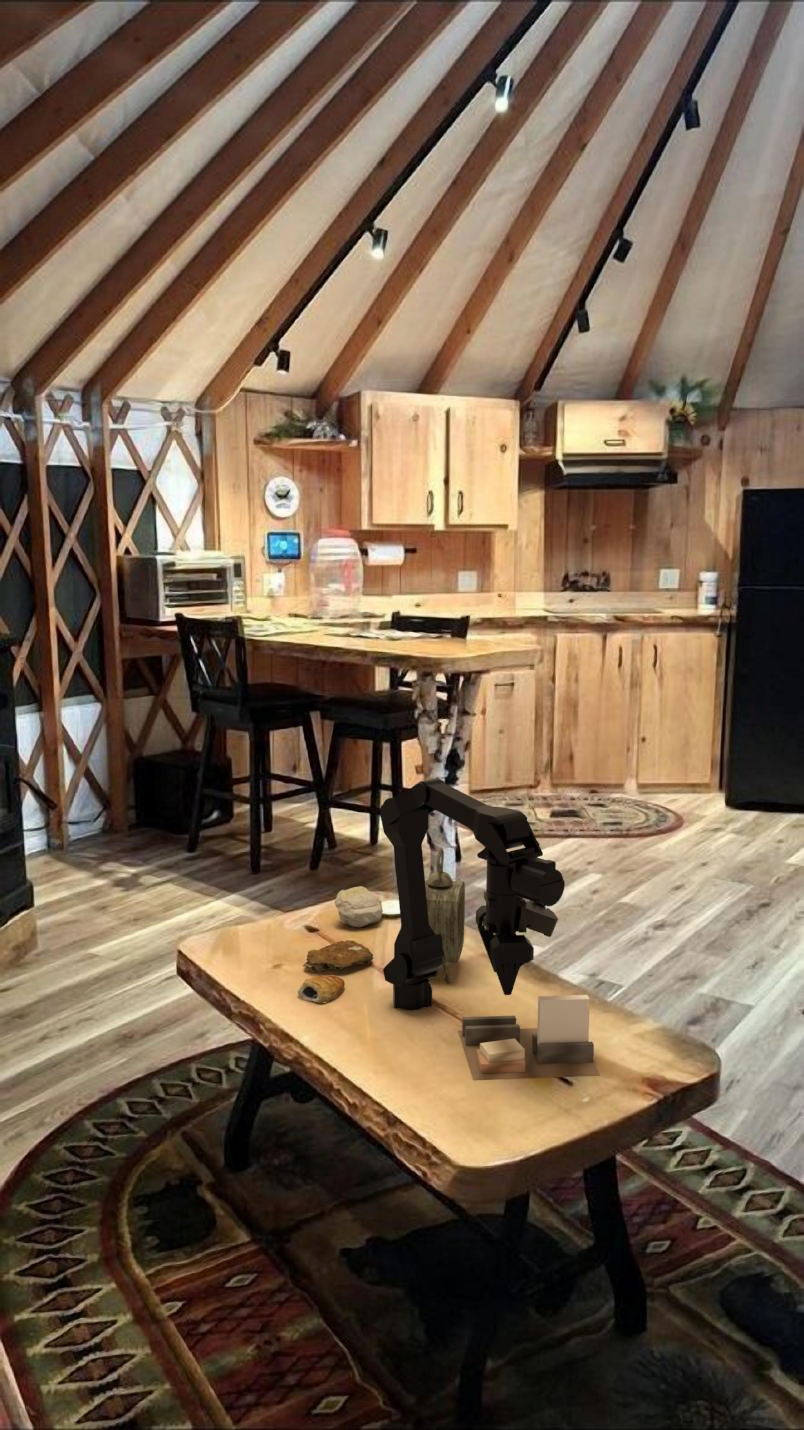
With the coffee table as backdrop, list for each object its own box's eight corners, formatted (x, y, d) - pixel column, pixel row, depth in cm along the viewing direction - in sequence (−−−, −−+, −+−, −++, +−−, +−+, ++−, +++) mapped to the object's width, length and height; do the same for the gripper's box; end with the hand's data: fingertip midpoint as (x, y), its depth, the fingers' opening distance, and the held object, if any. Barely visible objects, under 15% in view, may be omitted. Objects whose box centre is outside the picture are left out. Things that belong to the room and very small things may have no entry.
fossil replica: (392, 919, 234) (352, 917, 237) (390, 883, 233) (350, 882, 237) (371, 932, 222) (329, 930, 226) (369, 894, 222) (328, 893, 226)
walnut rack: (473, 1089, 157) (473, 1061, 156) (457, 1039, 174) (458, 1014, 173) (600, 1084, 159) (601, 1057, 158) (573, 1035, 175) (573, 1010, 175)
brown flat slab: (329, 986, 197) (382, 967, 208) (331, 966, 196) (384, 948, 207) (290, 968, 204) (343, 950, 216) (291, 948, 204) (344, 931, 215)
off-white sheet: (538, 1059, 163) (540, 1000, 162) (536, 1055, 165) (538, 996, 164) (587, 1058, 164) (589, 999, 163) (585, 1053, 166) (587, 994, 164)
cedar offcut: (480, 1073, 159) (481, 1064, 159) (475, 1058, 164) (476, 1049, 164) (525, 1071, 159) (525, 1062, 159) (518, 1056, 164) (519, 1047, 164)
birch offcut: (489, 1063, 159) (489, 1054, 159) (479, 1052, 163) (479, 1043, 162) (524, 1058, 161) (524, 1049, 160) (514, 1047, 164) (514, 1038, 164)
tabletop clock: (455, 988, 195) (457, 861, 192) (409, 984, 197) (409, 858, 193) (464, 959, 209) (465, 841, 206) (420, 956, 211) (421, 839, 207)
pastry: (326, 982, 198) (326, 963, 197) (354, 990, 194) (354, 971, 194) (294, 999, 190) (294, 979, 190) (323, 1008, 186) (323, 988, 186)
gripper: (568, 908, 154) (565, 1005, 157) (541, 871, 173) (538, 960, 175) (495, 909, 153) (493, 1008, 156) (476, 873, 172) (474, 961, 174)
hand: (502, 983), depth 165 cm, fingers open, 9 cm apart
